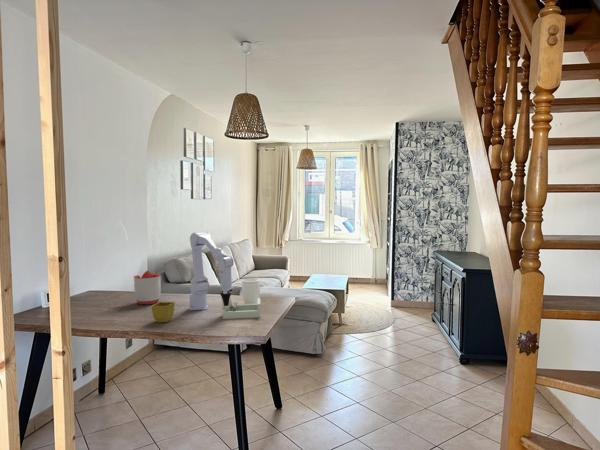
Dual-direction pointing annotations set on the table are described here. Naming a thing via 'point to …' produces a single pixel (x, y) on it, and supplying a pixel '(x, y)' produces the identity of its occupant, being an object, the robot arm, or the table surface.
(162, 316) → the flower pot
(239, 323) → the table surface
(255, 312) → the lane
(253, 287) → the jar
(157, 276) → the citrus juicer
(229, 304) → the spice jar
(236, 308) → the plate
